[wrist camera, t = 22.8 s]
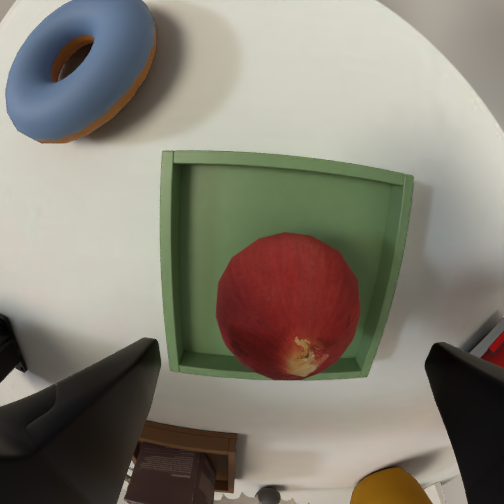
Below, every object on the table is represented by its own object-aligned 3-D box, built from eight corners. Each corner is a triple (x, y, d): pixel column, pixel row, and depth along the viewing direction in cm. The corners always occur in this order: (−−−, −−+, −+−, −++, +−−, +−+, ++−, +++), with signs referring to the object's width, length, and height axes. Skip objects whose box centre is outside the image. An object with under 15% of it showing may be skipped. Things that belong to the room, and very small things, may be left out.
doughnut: (158, -11, 10) (135, -49, 6) (178, 110, 13) (147, 86, 8) (40, 52, 11) (3, 37, 6) (45, 168, 13) (-4, 173, 9)
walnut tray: (146, 465, 22) (141, 478, 20) (124, 414, 19) (116, 431, 17) (234, 478, 22) (233, 493, 20) (237, 433, 19) (235, 452, 17)
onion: (320, 324, 15) (361, 431, 8) (221, 315, 15) (197, 428, 7) (341, 227, 14) (428, 286, 6) (230, 212, 14) (200, 263, 6)
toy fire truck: (451, 434, 21) (478, 484, 12) (427, 368, 17) (484, 452, 8) (500, 391, 20) (534, 434, 10) (497, 301, 16) (568, 356, 6)
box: (142, 438, 19) (120, 498, 12) (203, 443, 19) (192, 512, 12) (163, 467, 21) (150, 520, 14) (218, 472, 21) (211, 529, 13)
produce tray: (177, 351, 17) (169, 371, 15) (174, 153, 13) (161, 150, 11) (357, 358, 17) (367, 377, 15) (395, 174, 13) (414, 176, 11)
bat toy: (210, 472, 22) (206, 507, 17) (325, 487, 23) (330, 515, 19) (202, 480, 22) (198, 512, 18) (312, 495, 24) (316, 522, 19)
